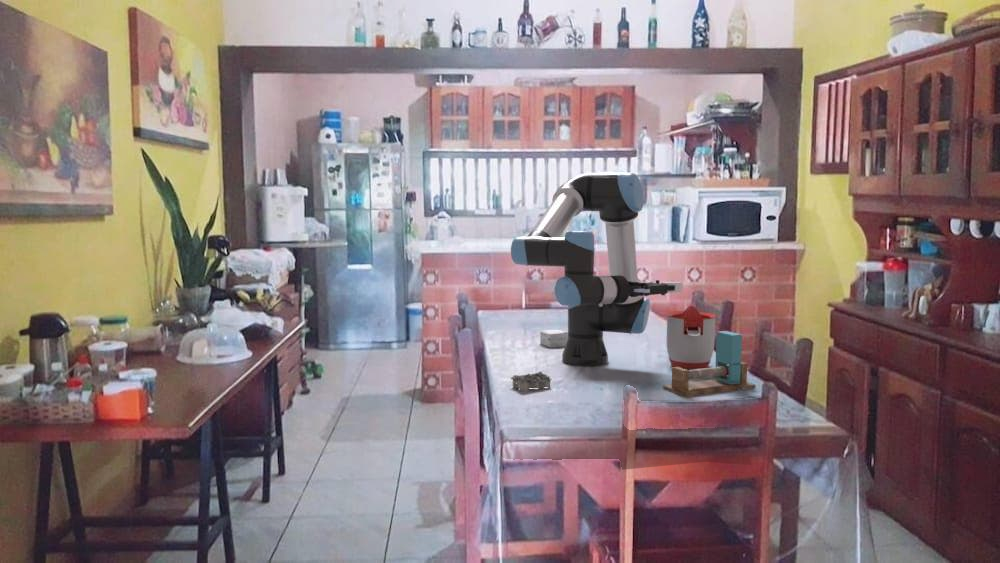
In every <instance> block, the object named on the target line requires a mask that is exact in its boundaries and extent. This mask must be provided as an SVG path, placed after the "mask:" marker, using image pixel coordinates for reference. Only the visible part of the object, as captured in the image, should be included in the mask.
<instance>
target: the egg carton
mask: <svg viewBox="0 0 1000 563" xmlns="http://www.w3.org/2000/svg"><path fill="white" fill-rule="evenodd" d="M510 380H512V388H513V387H518V388H517V389H520V390H529V388H539V387H549V386H550V387H551V382H552V381H553V378H550V376H549V375H547V374H545V373H543V372H542V371H538V372H535V373H531V374H530V373H527V374H522V375H518V374H515V375H513V376H512V377H510ZM550 387H549V388H550ZM539 389H540V388H539ZM529 391H530V390H529Z"/></svg>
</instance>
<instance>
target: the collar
mask: <svg viewBox="0 0 1000 563" xmlns="http://www.w3.org/2000/svg"><path fill="white" fill-rule="evenodd" d="M742 338H743V334H740V333H738V332H732V331H730V330H720V331H719V330H718V331H716V342H715V344H716V345H715V367H720V366H728V365H729V375H727V376H719V377H714V379H715V380H718V381H721V382H724V383H727V384H730V385H732V384H740V373H741V362H742V342H743V339H742Z"/></svg>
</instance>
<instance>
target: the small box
mask: <svg viewBox="0 0 1000 563" xmlns="http://www.w3.org/2000/svg"><path fill="white" fill-rule="evenodd" d="M539 333H540V334H539V336H540V340H539V341H540V342H539V343H540V344H541V345H543V346H545V347H549V348H556V347H565V345H566V342H567V339H568V331H567V332H566V331H565V330H560V329H547V330H540V332H539Z"/></svg>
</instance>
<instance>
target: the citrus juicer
mask: <svg viewBox="0 0 1000 563" xmlns="http://www.w3.org/2000/svg"><path fill="white" fill-rule="evenodd" d="M716 318H717V315H716V314H713V313H710V312H705V311H699V310H698V309H697V308H696V307H695V306H694V305H692V304H690V305H689V306H687V307H686V308H685V310H681V311H670V312H667V313H666V350H667V354H668V359H669V360H668V361H670V364H671V366H672V367H680V368H684V369H686V370H694V369H702V368H709V366H710V363H711V360H712V356H713V353H714V350H715V335H716V333H715V332H716Z"/></svg>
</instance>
